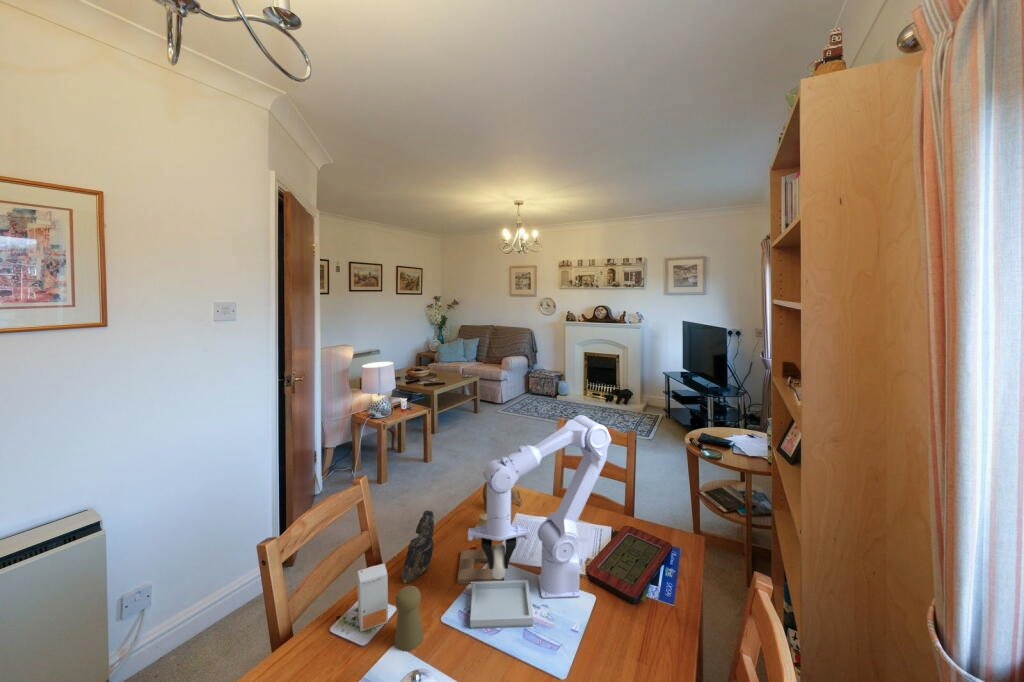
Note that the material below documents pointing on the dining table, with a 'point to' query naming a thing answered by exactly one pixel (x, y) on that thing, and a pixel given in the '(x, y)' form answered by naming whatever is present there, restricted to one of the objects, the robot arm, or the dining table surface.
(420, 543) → the statue
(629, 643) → the dining table surface
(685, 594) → the dining table surface
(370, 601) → the skincare box
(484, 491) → the hand bell
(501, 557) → the dowel
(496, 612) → the grey tray
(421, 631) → the olive game pawn
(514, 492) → the lion figurine
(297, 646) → the dining table surface
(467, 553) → the brown square board
